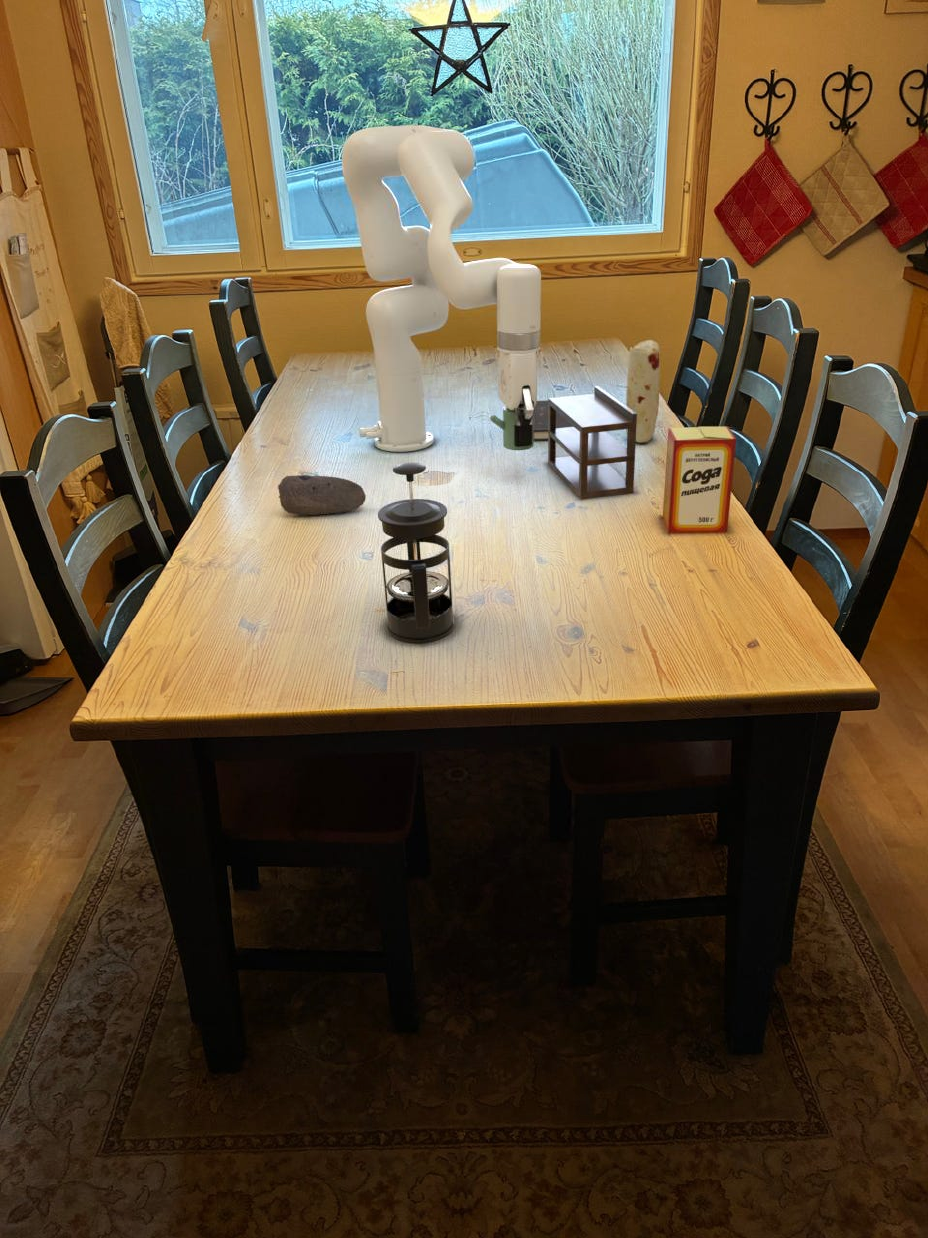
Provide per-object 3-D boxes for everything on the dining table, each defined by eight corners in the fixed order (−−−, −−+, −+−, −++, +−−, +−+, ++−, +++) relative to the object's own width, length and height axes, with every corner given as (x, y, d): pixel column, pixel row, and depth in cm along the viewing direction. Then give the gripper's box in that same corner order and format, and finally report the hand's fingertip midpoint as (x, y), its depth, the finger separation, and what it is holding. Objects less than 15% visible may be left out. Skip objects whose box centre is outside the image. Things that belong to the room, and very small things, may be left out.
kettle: (494, 452, 170) (493, 406, 166) (487, 443, 175) (486, 397, 170) (537, 448, 171) (537, 402, 167) (528, 439, 176) (529, 393, 172)
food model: (658, 446, 192) (664, 347, 183) (625, 446, 193) (629, 347, 184) (655, 431, 201) (661, 336, 191) (624, 431, 202) (628, 336, 192)
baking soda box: (668, 533, 153) (674, 437, 146) (662, 517, 159) (668, 425, 151) (727, 532, 153) (736, 436, 145) (719, 516, 158) (728, 424, 151)
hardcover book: (524, 441, 199) (524, 430, 198) (520, 410, 219) (520, 401, 218) (600, 438, 198) (600, 427, 197) (589, 408, 219) (589, 398, 217)
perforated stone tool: (368, 506, 169) (365, 469, 166) (365, 517, 165) (361, 479, 161) (286, 508, 170) (281, 471, 167) (280, 519, 165) (275, 482, 162)
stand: (580, 499, 168) (582, 419, 161) (548, 464, 185) (548, 390, 178) (633, 492, 170) (637, 413, 163) (596, 458, 187) (598, 385, 180)
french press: (384, 611, 133) (370, 455, 122) (450, 605, 134) (442, 449, 123) (388, 652, 123) (373, 486, 112) (460, 645, 124) (451, 479, 113)
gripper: (486, 331, 171) (487, 428, 179) (510, 353, 156) (510, 457, 165) (526, 328, 172) (525, 424, 181) (554, 349, 157) (551, 453, 166)
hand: (518, 439), depth 173 cm, fingers closed on kettle, 5 cm apart
